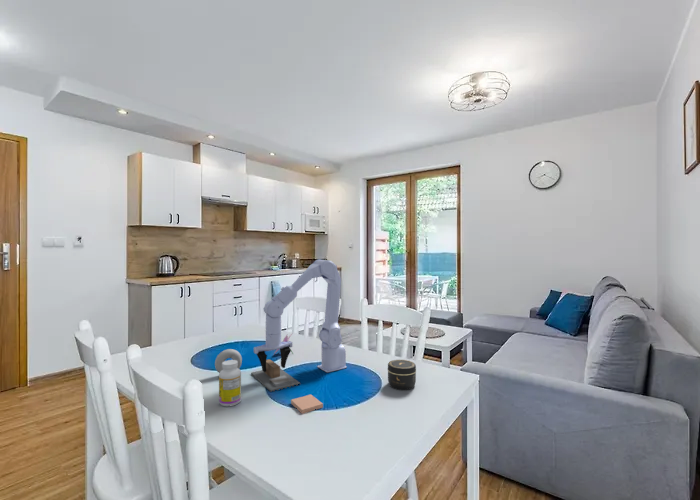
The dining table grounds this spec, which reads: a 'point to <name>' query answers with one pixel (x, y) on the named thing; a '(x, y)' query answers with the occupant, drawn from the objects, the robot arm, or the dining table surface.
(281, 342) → the robot arm
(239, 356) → the donut
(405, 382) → the jar
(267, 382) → the mat
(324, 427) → the dining table surface
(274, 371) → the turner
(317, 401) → the tile
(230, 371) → the supplement bottle
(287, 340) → the lily
